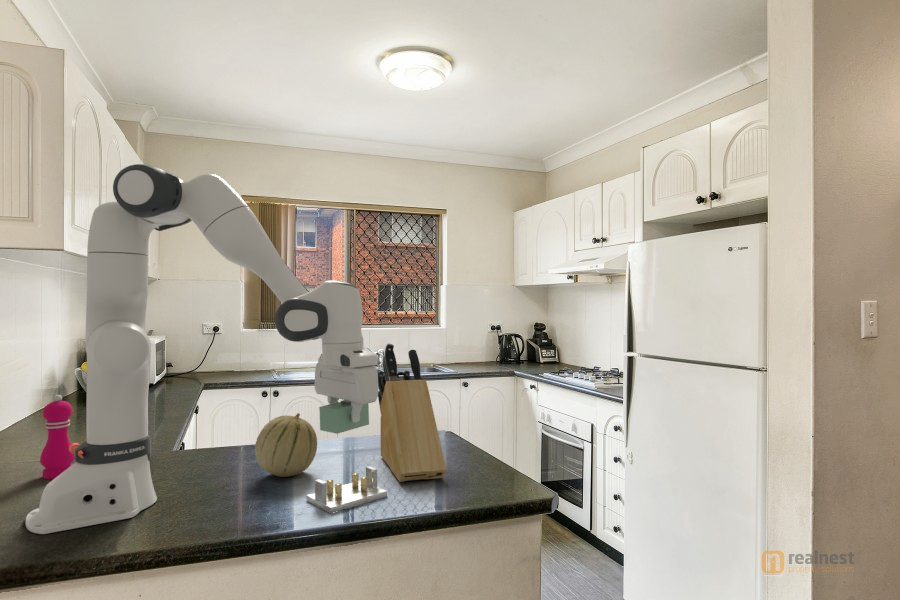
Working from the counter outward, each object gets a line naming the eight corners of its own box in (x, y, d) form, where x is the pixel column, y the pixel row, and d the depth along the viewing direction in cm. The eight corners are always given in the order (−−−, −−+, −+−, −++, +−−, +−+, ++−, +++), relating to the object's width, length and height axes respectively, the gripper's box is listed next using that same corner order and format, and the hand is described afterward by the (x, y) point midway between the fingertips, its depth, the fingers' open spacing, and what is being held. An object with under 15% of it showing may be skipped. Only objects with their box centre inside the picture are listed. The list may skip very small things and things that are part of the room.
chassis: (330, 513, 109) (330, 487, 109) (306, 500, 116) (306, 476, 116) (387, 496, 119) (387, 472, 119) (361, 485, 126) (361, 462, 126)
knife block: (412, 445, 161) (411, 340, 161) (447, 482, 127) (446, 351, 127) (374, 448, 157) (373, 342, 157) (400, 488, 124) (399, 352, 124)
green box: (337, 433, 112) (336, 406, 112) (320, 430, 115) (319, 404, 115) (369, 424, 119) (368, 399, 119) (352, 421, 123) (351, 396, 122)
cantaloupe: (243, 476, 133) (243, 415, 133) (295, 462, 144) (294, 406, 144) (277, 489, 123) (277, 423, 123) (330, 473, 134) (329, 413, 134)
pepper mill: (72, 468, 140) (72, 391, 140) (78, 475, 135) (78, 394, 135) (37, 475, 135) (37, 394, 135) (42, 482, 130) (42, 398, 130)
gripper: (306, 353, 123) (308, 414, 123) (356, 360, 108) (359, 429, 108) (331, 351, 127) (332, 410, 127) (382, 356, 112) (384, 423, 112)
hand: (345, 419), depth 117 cm, fingers closed on green box, 6 cm apart
